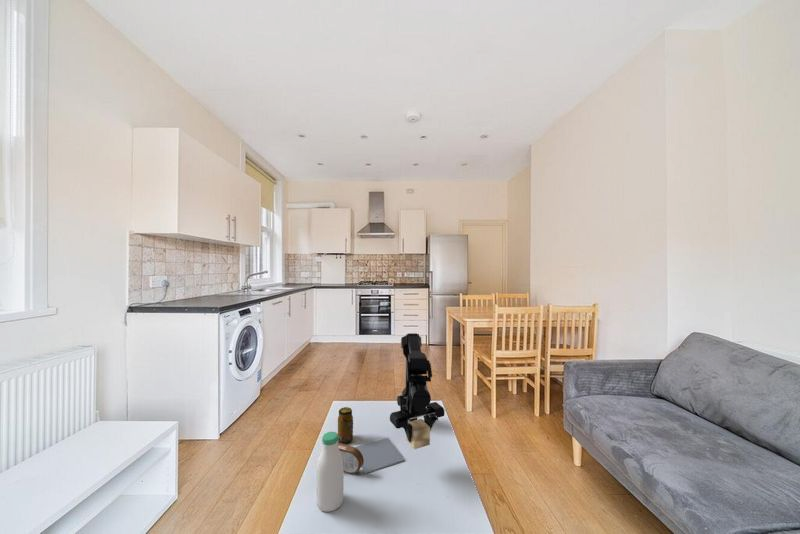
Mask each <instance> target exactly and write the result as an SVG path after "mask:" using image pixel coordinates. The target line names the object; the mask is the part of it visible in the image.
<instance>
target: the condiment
mask: <svg viewBox="0 0 800 534" xmlns="http://www.w3.org/2000/svg"><path fill="white" fill-rule="evenodd" d="M337 416H338V417H337V434H338V443H340V444H344V445H349V446H353V445H355V444H357V443H359V442H360V440H359V439H357V438H356V437H355V436H353V434H354V417H353V410H352V408H351V407H348V406H346V407H345V406H343V407H341V408H339V410H338V415H337Z"/></svg>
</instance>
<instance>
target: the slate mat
mask: <svg viewBox="0 0 800 534" xmlns="http://www.w3.org/2000/svg"><path fill="white" fill-rule="evenodd" d="M354 447H355V448H357V449H358V450H359V451H360V452H361V453H362V455H363V459H364V463H363V466H362V467H361V468H362V470H363V471H364V473H365V474H367V475H368V474H370V473H372V472H375V471H378V470H381V469H385V468H388V467H390V466H394V465H396V464H400V463H403V462H405V461H406V458H404V456H403V454H401V452H400V451H399V450H398V449H397V448H396V445H394V444H393V442H392V441H391V440H390V438H389V437H385V438H382V439H378V440H374V441H371V442H368V443H365V444H362V445H358V446H354Z"/></svg>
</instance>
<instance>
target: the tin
mask: <svg viewBox="0 0 800 534" xmlns="http://www.w3.org/2000/svg"><path fill="white" fill-rule="evenodd" d="M337 445H338V448H339V451H340V453H341V455H342V458H343V473H344V474H345V473H346V474H349V475H356V474H357V473H359V471H360V470H361V468H362V466H363V463H364V459H363V455H362V453H361V452H360V451H359V450H358V449H357V448H355V447H356V446H353V445H351V446H349V445H344V444H340V443H337Z"/></svg>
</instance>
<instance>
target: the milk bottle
mask: <svg viewBox="0 0 800 534" xmlns="http://www.w3.org/2000/svg"><path fill="white" fill-rule="evenodd" d="M321 441H322V442H321V443H322V449H321V452H320V454H319V457H318V459H317V465H316V505H317V508H318V509H319V510H320V511H322V512H325V513H326V512H327V513H328V512H329V513H330V512H333V511H336V510H338V509H339V508H340V507H341V506H342V504H343V503H344V472H343V458H342V455H341V453H340V451H339V448H338V445H337V443H338V432H336V431H327V432H325V433H324V434H323V435H322V438H321Z"/></svg>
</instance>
